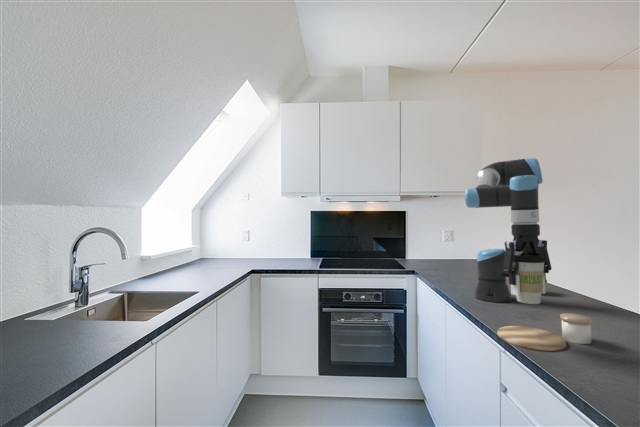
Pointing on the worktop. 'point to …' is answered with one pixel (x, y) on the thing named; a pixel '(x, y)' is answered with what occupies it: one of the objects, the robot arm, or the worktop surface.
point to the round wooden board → (531, 338)
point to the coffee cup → (530, 277)
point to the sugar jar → (576, 328)
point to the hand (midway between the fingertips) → (528, 293)
